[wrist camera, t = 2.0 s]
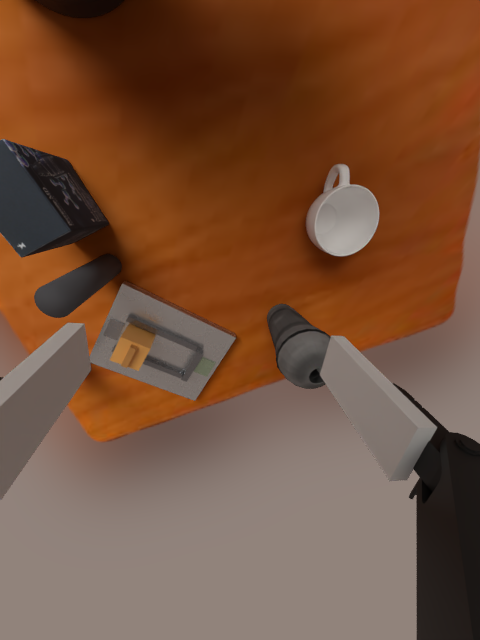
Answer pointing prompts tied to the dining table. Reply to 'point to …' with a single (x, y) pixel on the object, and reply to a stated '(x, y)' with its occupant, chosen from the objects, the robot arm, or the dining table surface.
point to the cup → (342, 215)
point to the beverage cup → (297, 346)
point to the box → (43, 201)
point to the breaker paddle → (133, 347)
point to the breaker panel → (164, 342)
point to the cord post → (76, 286)
